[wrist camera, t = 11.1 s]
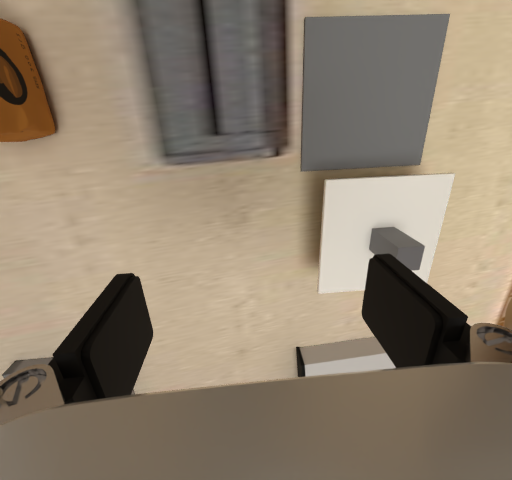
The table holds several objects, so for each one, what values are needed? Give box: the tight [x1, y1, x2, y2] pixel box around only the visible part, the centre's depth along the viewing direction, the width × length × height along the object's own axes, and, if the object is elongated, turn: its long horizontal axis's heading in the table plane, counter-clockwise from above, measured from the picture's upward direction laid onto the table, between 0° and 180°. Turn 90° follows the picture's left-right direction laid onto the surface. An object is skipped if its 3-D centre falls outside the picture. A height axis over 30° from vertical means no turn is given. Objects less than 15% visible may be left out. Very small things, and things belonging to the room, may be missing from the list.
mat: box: [301, 14, 450, 171], centre depth 36 cm, size 18×18×1 cm
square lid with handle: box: [317, 173, 455, 294], centre depth 32 cm, size 16×16×7 cm
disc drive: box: [296, 337, 396, 377], centre depth 55 cm, size 18×22×5 cm
